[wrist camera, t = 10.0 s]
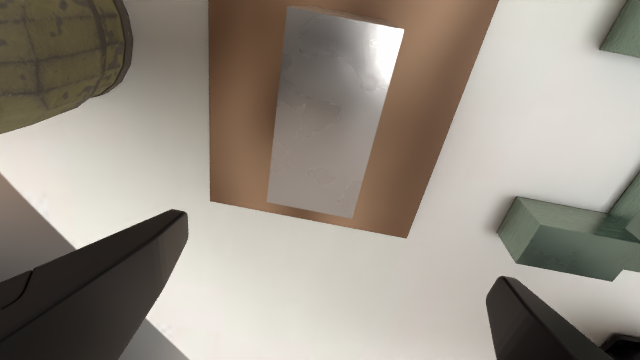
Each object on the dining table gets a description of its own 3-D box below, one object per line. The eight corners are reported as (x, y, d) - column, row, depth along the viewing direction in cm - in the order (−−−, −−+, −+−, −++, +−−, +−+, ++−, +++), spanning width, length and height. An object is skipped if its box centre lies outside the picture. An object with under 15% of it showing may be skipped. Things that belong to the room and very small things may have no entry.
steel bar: (387, 20, 16) (404, 29, 11) (352, 161, 20) (352, 218, 15) (308, 4, 16) (287, 6, 11) (289, 149, 20) (266, 202, 15)
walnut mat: (526, -85, 14) (532, -88, 13) (405, 233, 23) (406, 238, 22) (212, -144, 14) (207, -150, 14) (213, 196, 23) (210, 201, 22)
